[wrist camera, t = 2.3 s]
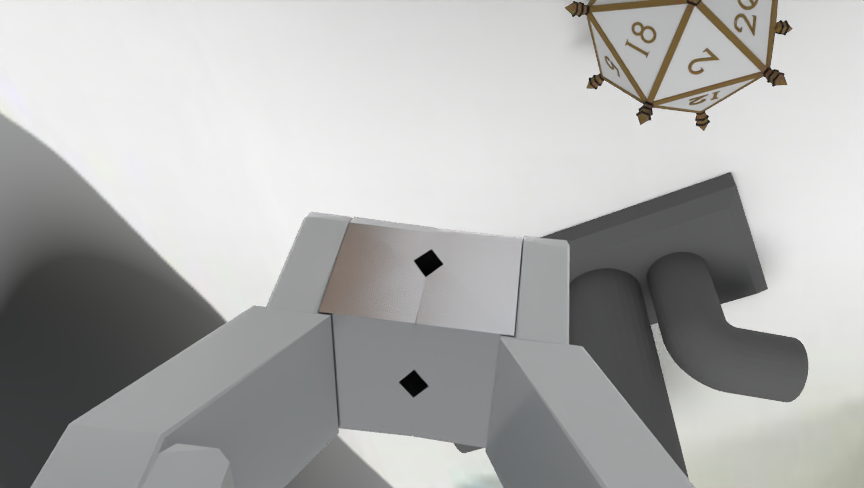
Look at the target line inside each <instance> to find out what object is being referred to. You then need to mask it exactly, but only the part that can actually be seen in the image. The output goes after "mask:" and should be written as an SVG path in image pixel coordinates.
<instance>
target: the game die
mask: <svg viewBox="0 0 864 488" xmlns="http://www.w3.org/2000/svg"><path fill="white" fill-rule="evenodd" d="M777 4H778V0H590V2H589V3H588V5H584V4H583V3H581V2H579V3H577V2H575V1H573V3H572V4H570V5H569V6H567V7H565V8H566V9H567V10H568V11H569V12H570V13H571V14H572V16H573V17H574V16H575V15H578V17H580V16H581V15H584V14H585V15H587V19H588V24H589V28H590V32H591V36H592V40H593V45H594V49H595V53H596V57H597V61H598V65H599V70H600V74H599V75H593V77H592V78H589V82H588V85H587V88H595V89H597V88H598V86H601V84H602V82H603V81H604V80H605V81H607V82H609V83H610V84H612V85H613V86H615V87H617V88H618V89H620V90H621V91H623V92H625V93H626V94H628V95H630V96H631V97H633V98H634V99H636V100H638V101H639V102H641V103H643V104H644V105H643V106H642V107H641V108H640V109H639V113H637V114H636V115H637V116H638V119H639V122H640V125H641V124H643V123H645V122H646V121H648V120H651V115H652V114H653V113H652V108H661V109H669V110H677V111H685V112H693V113H696V114H697V116H696V119H695V121H697V123H696V126H699V127H700V128H701V129H702V130H703V131H704V130H705V128H706V126H707V125H708V123H709V122H710V121H709V120H708V117H709V116H708V115H706V113H705V110H707V109H709V108H711V107H712V106H714V105H716V104H717V103H719V102H721V101H722V100H724V99H726V98H727V97H729V96H731V95H732V94H734V93H736V92H737V91H739V90H741V89H743V88H744V87H746V86H748V85H749V84H751V83H753V82H754V81H756V80H758V79H759V78H761V77H763V76H764V77H766V78H767V80H768V81H767V82H768V83H769V82H771V83H772V84H773V85H772V86H773V87H774V86H775V85H787V83H786V80H785V77H784V73H781V72H780V73H779V71H778V70H775V69H774V70H772V69H771V68H770V65H771V58H772V51H773V44H774V37H775V33H778V34H783V35H786V33H787V32H789V31H790V30H792V28H791V26H790V25H789V24H788V22H787V21H784V22H782V20H780V21H779V22H777V23H776V18H777Z"/></svg>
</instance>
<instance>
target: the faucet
mask: <svg viewBox="0 0 864 488" xmlns="http://www.w3.org/2000/svg"><path fill="white" fill-rule="evenodd" d="M541 238H546V239H558V240H567V242H568V244H569V246H570V262H569V345H576V346H582V347H583V348H584V349H585V350H586V351H587V353H588V354H589V355H590V356H591V358H592V359H593V360H594V361H595V363H596V364H597V365H598V366H599V368H600V369H601V370H602V371H603V373H604V374H605V375H606V376H607V378H608V379H609V380H610V381H611V383H612V384H613V385H614V386H615V388H616V389H617V390H618V392H619V393H620V394H621V395H622V397H623V398H624V399H625V400H626V402H627V403H628V404H629V405H630V407H631V408H632V409H633V410H634V412H635V413H636V414H637V415H638V417H639V418H640V419H641V420H642V422H643V423H644V424H645V425H646V427H647V428H648V429H649V430H650V432H651V433H652V434H653V435H654V437H655V438H656V439H657V440H658V442H659V443H660V444H661V445H662V447H663V448H664V449H665V450H666V452H667V453H668V454H669V455H670V457H671V458H672V459H673V460H674V462H675V463H676V464H677V465H678V467H679V468H680V469H681V470H682V472H683V473H684V474H685V475H686V477H687V478H688V474H687V470H686V466H685V462H684V458H683V454H682V450H681V446H680V442H679V438H678V434H677V430H676V426H675V422H674V418H673V414H672V410H671V406H670V402H669V398H668V394H667V390H666V386H665V382H664V378H663V374H662V370H661V366H660V362H659V358H658V354H657V350H656V345H655V341H654V337H653V333H652V329H651V324H654V323H658V324H659V328H660V331H661V335H662V339H663V342H664V344H665V346H666V348H667V350H668V352H669V354H670V355H671V357H672V358H673V360H674V361H675V362H676V363H677V364H678V366H679V367H680V368H681V369H682V370H684V371H685V372H686V373H687V374H688V375H690V376H691V377H692V378H694V379H695V380H697V381H698V382H700V383H702V384H704V385H706V386H708V387H710V388H713V389H716V390H719V391H723V392H727V393H733V394H740V395H746V396H752V397H758V398H764V399H770V400H776V401H782V402H791V401H793V400H795V399H796V398H797V397H798V396H799V395H800V393H801V392H802V390H803V388H804V386H805V383H806V380H807V375H808V358H807V353H806V350H805V348H804V346H803V344H802V343H801V342H800V341H799V340H798V339H796V338H792V337H787V336H781V335H775V334H769V333H764V332H758V331H752V330H747V329H741V328H736V327H733V326H732V325H730V324H729V323H728V322H727V321H726V319H725V316H724V314H723V311H722V308H721V305H720V304H723V303H726V302H729V301H733V300H736V299H740V298H743V297H746V296H750V295H753V294H757V293H759V292H761V291H764V290H766V289H768V288H767V285H766V281H765V278H764V275H763V272H762V268H761V265H760V262H759V259H758V255H757V252H756V249H755V246H754V242H753V239H752V236H751V233H750V229H749V226H748V223H747V220H746V216H745V213H744V210H743V207H742V203H741V200H740V197H739V193H738V190H737V187H736V184H735V182H734V179H733V177H732V175H731V172H730V173H727V174H724V175H722V176H719V177H716V178H713V179H710V180H707V181H704V182H701V183H698V184H695V185H692V186H690V187H687V188H684V189H681V190H678V191H675V192H672V193H669V194H666V195H663V196H660V197H657V198H655V199H652V200H649V201H646V202H643V203H640V204H637V205H634V206H631V207H628V208H625V209H622V210H620V211H617V212H614V213H611V214H608V215H605V216H602V217H599V218H596V219H593V220H590V221H588V222H585V223H582V224H579V225H576V226H573V227H570V228H567V229H564V230H561V231H558V232H555V233H553V234H550V235H547V236H544V237H541ZM454 444H455V446H456V447H457V449H458V450H459V451H460V452H462V453H467V452H470V451H474V450H478V449H481V448H482V447H476V446H470V445H464V444H458V443H454ZM688 479H689V478H688Z"/></svg>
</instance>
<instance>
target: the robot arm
mask: <svg viewBox="0 0 864 488" xmlns="http://www.w3.org/2000/svg"><path fill="white" fill-rule="evenodd" d="M569 262H570V246H569V244H568V242H567V240H558V239H546V238H535V237H524V238H523V240H522V237H513V236H503V235H494V234H485V233H476V232H466V231H457V230H448V229H438V228H433V227H426V226H418V225H411V224H404V223H396V222H389V221H381V220H374V219H367V218H359V217H354V218H351V217H348V216H340V215H332V214H324V213H317V212H311V213H310V214H309V215H308V216H307V217H306V218H304V220H303V222H302V224H301V227H300V229H299V231H298V234H297V236H296V238H295V241H294V243H293V245H292V248H291V250H290V252H289V255H288V257H287V260H286V262H285V264H284V267H283V269H282V271H281V274H280V276H279V278H278V281H277V283H276V285H275V288H274V290H273V292H272V295H271V297H270V299H269V302H268V304H267V306H266V307H261V306H252V307H251V308H249V309H247V310H246V311H244V312H243V313H241V314H240V315H238V316H237V317H235V318H233V319H232V320H230V321H229V322H227V323H226V324H224V325H223V326H221V327H219V328H218V329H216V330H215V331H213V332H212V333H210V334H208V335H207V336H206V337H204V338H202V339H201V340H199V341H198V342H196V343H194V344H193V345H191V346H190V347H188V348H187V349H185V350H184V351H182V352H180V353H179V354H177V355H176V356H174V357H173V358H171V359H170V360H168V361H167V362H165V363H163V364H162V365H160V366H159V367H157V368H155V369H154V370H152V371H151V372H149V373H148V374H146V375H145V376H143V377H142V378H140V379H138V380H137V381H135V382H134V383H132V384H131V385H129V386H127V387H126V388H124V389H123V390H121V391H120V392H118V393H116V394H115V395H113V396H112V397H111V398H109V399H107V400H106V401H104V402H102V403H101V404H99V405H98V406H96V407H95V408H93V409H92V410H90V411H88V412H87V413H85V414H84V415H82V416H81V417H79V418H78V419H76V420H74V421H73V422H71V423H70V424H69V425H68V427H67V428H66V430H65V432H64V433H63V435H62V437H61V438H60V440H59V441H58V443H57V445H56V447H55V448H54V450H53V452H52V453H51V455H50V457H49V458H48V460H47V461H46V463H45V465H44V466H43V468H42V470H41V471H40V473H39V475H38V476H37V478H36V480H35V481H34V483H33V485H32V486H31V488H284V487H285V486H286V485H287V484H288V483H289V482H290V481H291V480H292V479H293V478H294V477H295V476H296V475H297V474H298V473H299V472H300V471H301V470H302V469H303V468H304V467H305V466H306V465H307V463H309V462H310V461H311V460H312V459H313V458H314V457H315V456H316V455H317V454H318V453H319V452H320V451H321V450H322V449H323V448H324V447H325V446H326V445H327V444H328V442H330V441H331V440H332V439H333V438H334V437H335V436H336V435H337V434H338V433H339V430H338V428H342V429H351V430H361V431H370V432H379V433H388V434H397V435H407V436H412V435H413V436H414V437H421V438H427V439H433V440H439V441H445V442H451V443H458V444H464V445H470V446H476V447H482V448H486V453H487V455H488V457H489V459H490V461H491V463H492V465H493V467H494V469H495V472H496V474H497V476H498V478H499V480H500V482H501V484H502V486H503V488H695V487H694V485H693V484H692V483H691V482H690V480H689V479H688V478H687V477H686V475H685V474H684V473H683V472H682V470H681V469H680V468H679V467H678V465H677V464H676V463H675V462H674V460H673V459H672V458H671V457H670V455H669V454H668V453H667V452H666V450H665V449H664V448H663V447H662V445H661V444H660V443H659V442H658V440H657V439H656V438H655V437H654V435H653V434H652V433H651V432H650V430H649V429H648V428H647V427H646V425H645V424H644V423H643V422H642V420H641V419H640V418H639V417H638V415H637V414H636V413H635V412H634V410H633V409H632V408H631V407H630V405H629V404H628V403H627V402H626V400H625V399H624V398H623V397H622V395H621V394H620V393H619V392H618V390H617V389H616V388H615V386H614V385H613V384H612V383H611V381H610V380H609V379H608V378H607V376H606V375H605V374H604V373H603V371H602V370H601V369H600V368H599V366H598V365H597V364H596V363H595V361H594V360H593V359H592V358H591V356H590V355H589V354H588V353H587V351H586V350H585V349H584V348H583V347H582V346H576V345H569Z"/></svg>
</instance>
